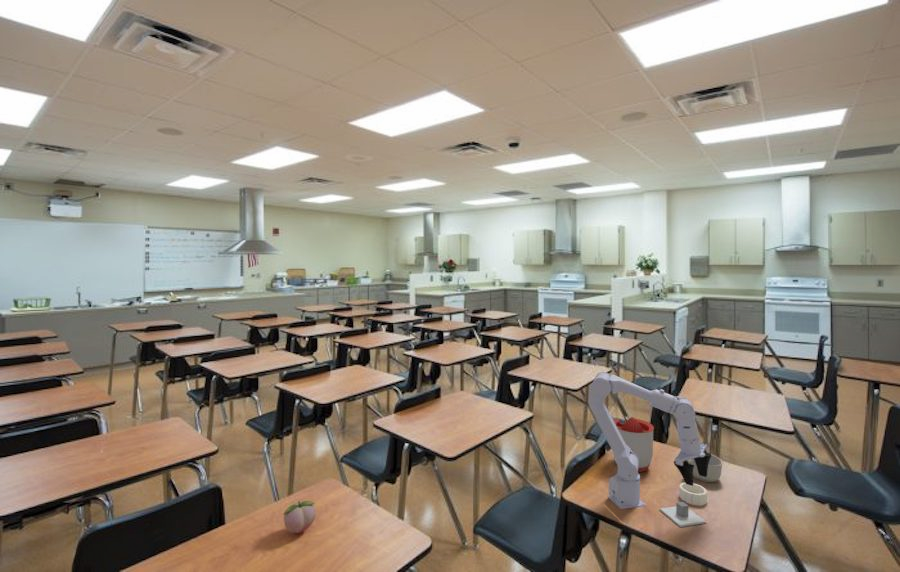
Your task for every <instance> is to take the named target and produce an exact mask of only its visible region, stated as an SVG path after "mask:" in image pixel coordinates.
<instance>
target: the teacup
mask: <svg viewBox="0 0 900 572" xmlns="http://www.w3.org/2000/svg"><path fill="white" fill-rule="evenodd" d="M710 454H711V458H710V460H709V463H708V470H707V477H704V476H700V475H699V473H698V470H697V466H696V463H695V460H694V458H693V459H690V460H688V463H689V464H691V465H694V468H693V477H695V479H697V480H699V481H701V482H705V483H714V482H717V481H718V480H719V479H720V478H721V475H722V468H723V461H722V459H721V458H719V457H718V456H717V455H714V454H712V453H710Z"/></svg>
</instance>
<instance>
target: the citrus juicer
mask: <svg viewBox="0 0 900 572" xmlns="http://www.w3.org/2000/svg"><path fill="white" fill-rule="evenodd" d="M613 421H614V423H615V424H616V426H617V428H618V430H619V432H620V434H621V436H622V438H623V440H624V442H625V443H626V445H627V446H628V447H630V449H631V451H632V452H633V453H634V454H635V455H636V456H637V457H638V459H639V465H638V473H643V472H646V471H647V470H649V467H650V466H651V462H652V460H653V453H654V430H655V427H654V425H653V424H651V423H650V422H648V421H645V420H642V419H639V418H635V417H633V416H631V417H629V418H628V419H627V420H625V422H624V423H621V421H620V420H619V419H618V418H614V419H613ZM612 453H613V452H612ZM613 455H614V453H613Z"/></svg>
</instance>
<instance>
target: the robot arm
mask: <svg viewBox="0 0 900 572" xmlns="http://www.w3.org/2000/svg"><path fill="white" fill-rule="evenodd" d="M588 390H589V391H588V392H589V394H588V401H587V403H588V407H589V408H590V410H591V413H592V414H593V416H594V418H595V420H596V421H597V424H598V426H599V427H600V430H601V431H602V433H603V435H604V437H605V439H606V441H607V443H608V445H609V447H610V448H611V451H612V453H614V454H613V457H614V461H615V464H616V465H617V466H616V467H617V471H616V474H615V475H614V476H612V477H609V480H608V495H607V498H609V500H610V501H612V502H613V504H615V506H617V507H618V508H619V509H621V510H624V509H631V508H638V507H644V506H647V505H646V503H645V502H643V501H642V500H641V475H640V473H639V472H638V465H639V459H638V457H637V456H636V455H635V454H634V453H633V452H632V451H631V449H630V447H628V446H627V445H626V443H625V442H624V440H623V438H622V436H621V434H620V432H619V430H618V428H617V426H616V424H615V423H614V421H613V420H614V419H613V417H612V415H611V413H610V411H609V409H608V407H607V406H606V403H605V400H606V398H608V396H609V395H610V393H611V391H612V394H613V395H615V394H618V393H621V392H622V393H626V394H628V395H631V396H634V397H637V398H639V399H643V400H646V401H647V402H648V404H649V406H650V407H653V408H655V409H658V410H661V411H662V412H665V413H669V414H671V415H673V416H675V419H676V424H675V425H676V429H677V436H678V439H679V440H678V442H679V446H680V451H679V452H678V455H677V456H675V458H674V461H673V464H674V466H675V468H677V470H678V471H679V472H680V474H681V476H682V478H683V479H682V480H683V481H684V483H686V484H688V485H691V486H692V485H693V483H694V475H693V468H694V465H691V464H689V462H688V460H690V459H693V458H694V460H695V463H696V466H697V470H698V473H699V475H700V476H704V477H707V470H708V463H709V460H710V458H711V454H712V453H710V452H708V451H709V448H708V444H704V443H701V441H700V436H699V430H698V424H697V422H696V418H695V417H696V412H695V409H694V405H693V403H692V402H691V401H690V400H689V399H687V397H683V396H682V397H680V396H678V395H676V396H675V395H672V394H670V393H667V392H665V389H662V388H660V389H656V388H655V389H652V390H649V389H647V388H644V387H643V386H640V385H639V384H638V385H637V384H635V383H633V382H631V381H629V380H626V379H624V378H622V377H620V376H617V375H615V374H610V373H608V372H605V371H601V372H599V373H597V374H596V375H595V377H594V379H593V381H592V382H591V383H590V386H589V389H588Z"/></svg>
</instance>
